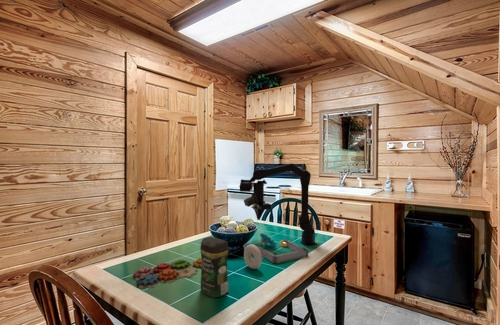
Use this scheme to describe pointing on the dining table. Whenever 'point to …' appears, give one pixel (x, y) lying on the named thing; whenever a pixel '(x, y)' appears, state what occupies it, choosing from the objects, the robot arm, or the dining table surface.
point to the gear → (266, 240)
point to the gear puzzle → (165, 273)
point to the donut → (256, 253)
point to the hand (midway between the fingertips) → (258, 219)
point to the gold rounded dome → (284, 243)
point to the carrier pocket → (298, 253)
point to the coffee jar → (214, 267)
